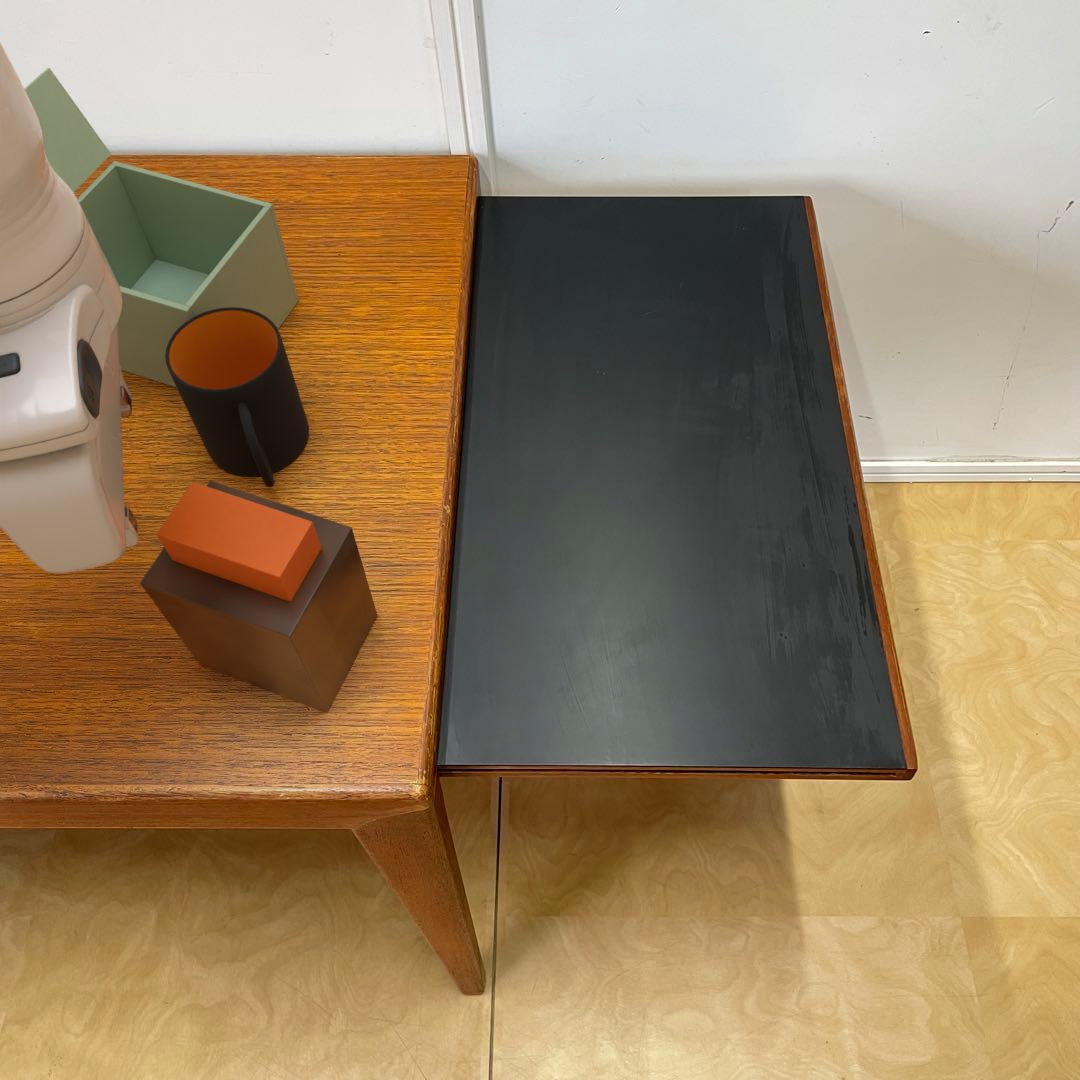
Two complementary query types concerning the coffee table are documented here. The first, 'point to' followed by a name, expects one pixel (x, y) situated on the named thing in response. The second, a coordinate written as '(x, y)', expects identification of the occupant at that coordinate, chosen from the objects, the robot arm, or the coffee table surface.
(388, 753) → the coffee table surface
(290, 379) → the mug
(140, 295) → the green box
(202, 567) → the block
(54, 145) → the flap
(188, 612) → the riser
